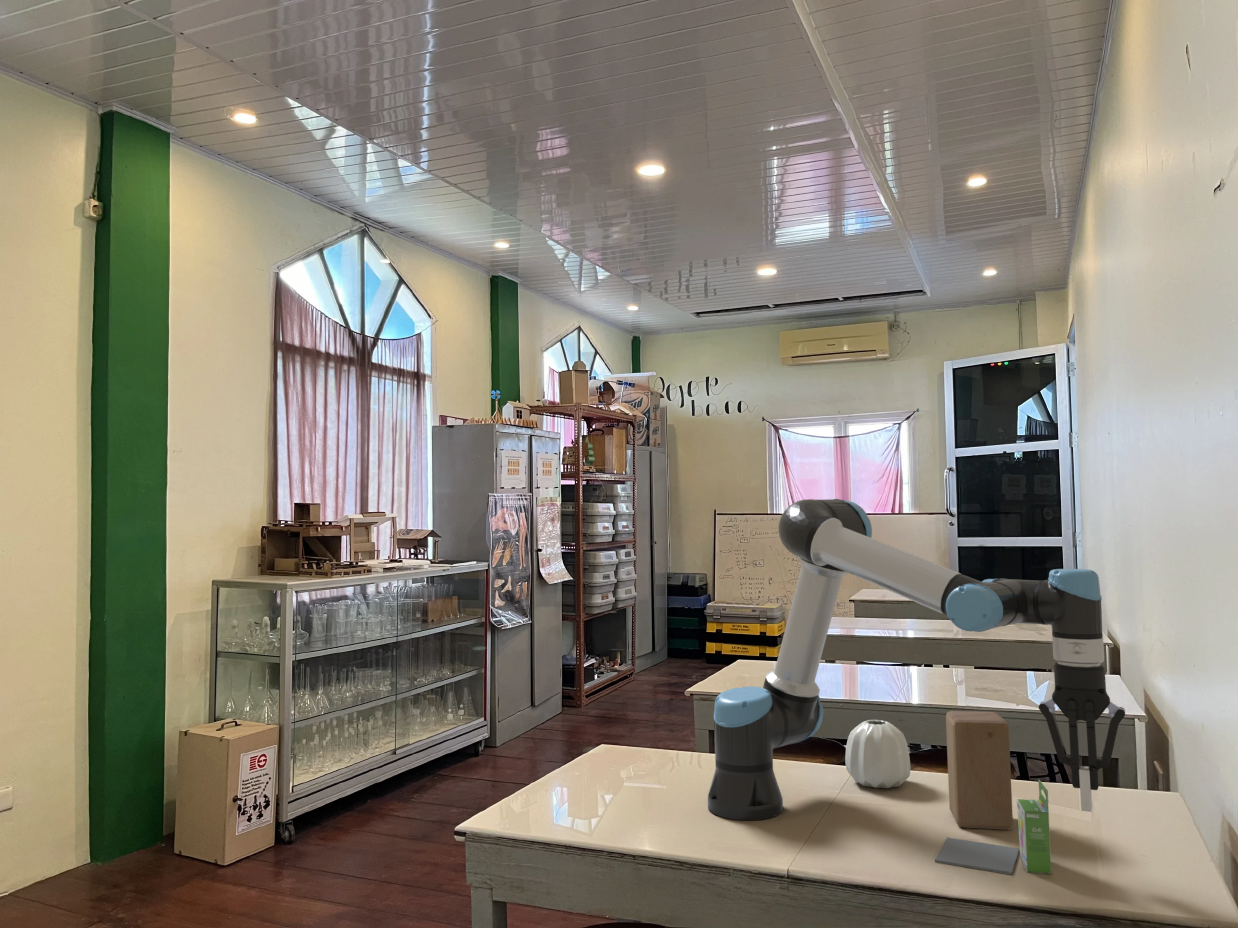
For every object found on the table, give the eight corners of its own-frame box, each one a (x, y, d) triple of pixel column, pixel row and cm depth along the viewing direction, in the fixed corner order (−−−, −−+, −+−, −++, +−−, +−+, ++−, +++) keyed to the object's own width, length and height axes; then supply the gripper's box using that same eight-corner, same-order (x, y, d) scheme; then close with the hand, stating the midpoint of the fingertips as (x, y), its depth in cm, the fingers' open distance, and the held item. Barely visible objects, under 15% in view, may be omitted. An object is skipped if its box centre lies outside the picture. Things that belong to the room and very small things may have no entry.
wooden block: (1014, 831, 165) (1009, 722, 166) (957, 828, 167) (953, 720, 168) (1002, 814, 174) (998, 710, 176) (948, 811, 176) (944, 709, 178)
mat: (934, 861, 151) (934, 859, 151) (947, 839, 161) (946, 837, 161) (1011, 874, 145) (1011, 872, 145) (1019, 850, 155) (1019, 848, 155)
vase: (843, 774, 203) (841, 714, 204) (905, 775, 201) (903, 715, 202) (850, 792, 190) (848, 728, 191) (917, 794, 188) (915, 729, 189)
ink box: (1018, 856, 152) (1015, 777, 153) (1044, 858, 151) (1040, 778, 152) (1025, 872, 146) (1022, 788, 147) (1052, 874, 145) (1048, 790, 146)
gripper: (1033, 663, 147) (1040, 809, 145) (1124, 668, 140) (1132, 821, 139) (1037, 657, 153) (1044, 797, 152) (1123, 661, 147) (1132, 807, 145)
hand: (1086, 808), depth 145 cm, fingers closed
